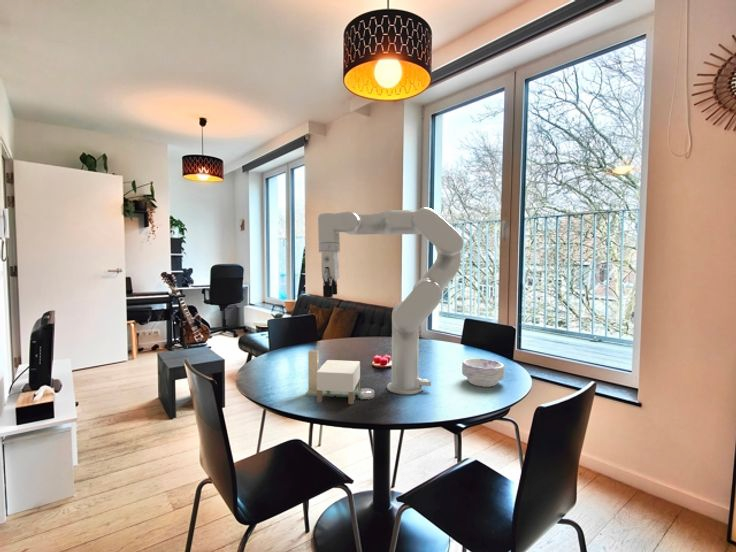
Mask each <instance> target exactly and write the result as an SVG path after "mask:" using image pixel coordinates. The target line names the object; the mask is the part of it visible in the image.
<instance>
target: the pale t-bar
mask: <svg viewBox="0 0 736 552" xmlns="http://www.w3.org/2000/svg"><path fill="white" fill-rule="evenodd" d="M319 351H320V350H319V349H310V350H308V351H307V352H308V353H307V355H308V366H307V367H308V368H307V369H308V373H307V375H308V378H307V379H308V386H307V387H308V390H307V391H306V392H305V396H306V397H314V396H317V371H318V370H319V369H320V358H319V357H320V356H319V355H320V353H319ZM357 390H358V387H355V389H354V400H356V398H357ZM334 396H336V398H337V397H338V398H339V397H340V398H348V392H342V391H323V390H322V397H334Z"/></svg>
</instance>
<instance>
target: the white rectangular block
mask: <svg viewBox="0 0 736 552" xmlns="http://www.w3.org/2000/svg"><path fill="white" fill-rule="evenodd" d="M355 387H358V390H359V389H361V361H359V360H342V359H341V360H339V359H338V360H337V359H327V360H326V361H325V362H324V363H323V364H322V365H321V366H320V367H319V370H318V371H317V397H316V403H320V402H321V403H322V402H323V396H322V390H323V391H342V392H348V397H347V398H348V401H347V403H348V405H353V404H354V402H355V401H354V389H355Z"/></svg>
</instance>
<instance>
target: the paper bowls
mask: <svg viewBox="0 0 736 552" xmlns="http://www.w3.org/2000/svg"><path fill="white" fill-rule="evenodd" d="M461 363H462V365H461V374H462V375H463V376H464V377H466V379H467V380H468V383H469V384H470V385H471V384H472V385H474V386H477V387H481V386H482V387H481V388H483V387H484V388H490V387H491V386H492V387H495V386H496V385H497V384H498V383H499V381H502V380H504V378H505V377H504V376H505V364H504V363H502V362H500V361H498V360H492V359H489V358H476V357H475V358H473V357H472V358H466V359H464V360H462V362H461Z"/></svg>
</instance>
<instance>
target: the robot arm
mask: <svg viewBox="0 0 736 552" xmlns="http://www.w3.org/2000/svg"><path fill="white" fill-rule="evenodd" d="M317 230H318V231H317V232H318V239H317V240H318V253H321V279H322V281H323V282H322V297H323V298H333V297H334V296H333V295H338V283H337V282H338V281H337V280H338V279H340V264H339V253H340V252H341V249H340V248H341V247H340V246H341V244H340V243H341V242H340V233H345V234H348V235H351V236H352V235H357V236H358V235H359V236H360V235H362V236H363V235H382V236H383V235H385V236H387V235H388V236H389V235H390V236H391V235H423V237H425V238H426V239H427V240H428V241H429V242H430V243H431V244H432V245H433V246H434V247H435V251H436V253H437V256H436V259H435V261H434V262H433V264H432V265H431V266H430V267H429V269H428V270H427V271H426V272H425V273H424V275H423V276H422V277H420V279H419V280H418V281H417V282H416V283H415V284H414V285H413V288H412V290H411V292H410V293H409V294H408V295H407V296H406V298H404V300H403V301H399V302H398V303H396V304H395V305H394V307H393V309H392V312H391V382H390V381H389V383H388V384H387V385H386V386H387V387H386V388H387V390H388V391H389V392H391V393H393V394H398V395H406V396H407V395H415V394H419V393H421V392H422V391H423V387H424V386H425V387H431V386H432V380H428V378H421V377H420V374H419V344H420V340H419V339H420V337H419V336H420V334H419V332H420V331H419V327H420V326H421V325H423V323H424V322H425V321H426V319H427V318H428V317H429V316H430V315H431V314H432V313H433V311H434V310H436V309H437V307H438V305H439V304H440V303H441V300H442V297H443V291H444V290H445V289H446V288H447V286H448V285H449V284H450V282H452V280H453V279H454V277H455V276H456V275H457V273H458V271H459V269H460V266H461V258H462V257H461V255H462V254H461V251H462V250H463V247H464V240H463V237H462V235H461V233H460V232H458V230H456V229H455V228H454V227H453V226H452V225H451V224H449V222H448V221H446V220H445V219H444V218H443V217H442V215H441V216H440V214H438V213H437V211H435V210H434V209H432V208H430V207H421V208H418V209H402V210H400V209H399V210H398V209H394V210H393V209H390V210H385V211H382V212H378V213H373V214H357V213H355V212H353V211H350V210H349V211H342V212H336V213H335V212H323V213H322V212H321V213H319V214H318V217H317Z"/></svg>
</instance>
